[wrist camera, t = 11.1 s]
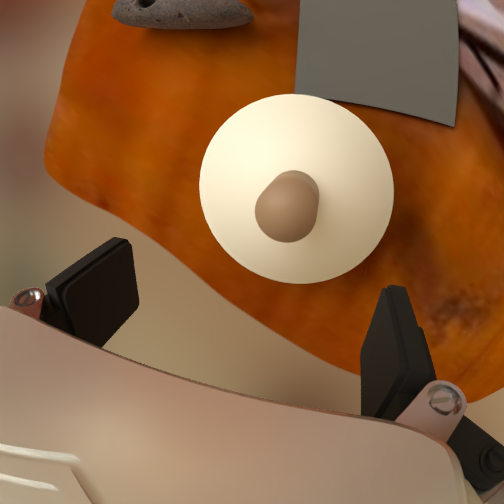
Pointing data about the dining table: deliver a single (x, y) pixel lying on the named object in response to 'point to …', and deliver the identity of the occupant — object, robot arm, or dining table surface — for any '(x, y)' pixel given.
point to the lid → (296, 188)
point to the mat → (381, 54)
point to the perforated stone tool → (182, 13)
